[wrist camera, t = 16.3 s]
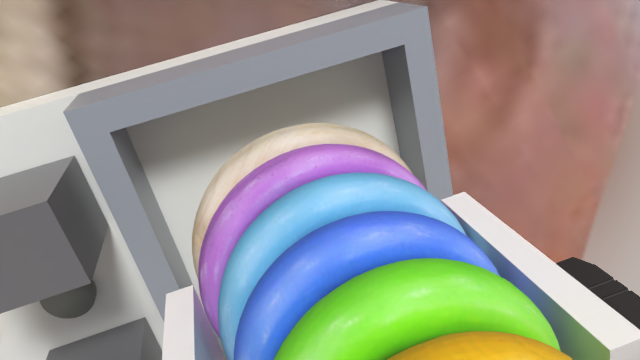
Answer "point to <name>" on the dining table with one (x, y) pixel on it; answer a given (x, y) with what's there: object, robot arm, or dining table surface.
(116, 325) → the panel
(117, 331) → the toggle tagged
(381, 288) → the stacking toy
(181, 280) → the frame
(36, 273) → the toggle
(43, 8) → the dining table surface
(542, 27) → the dining table surface
